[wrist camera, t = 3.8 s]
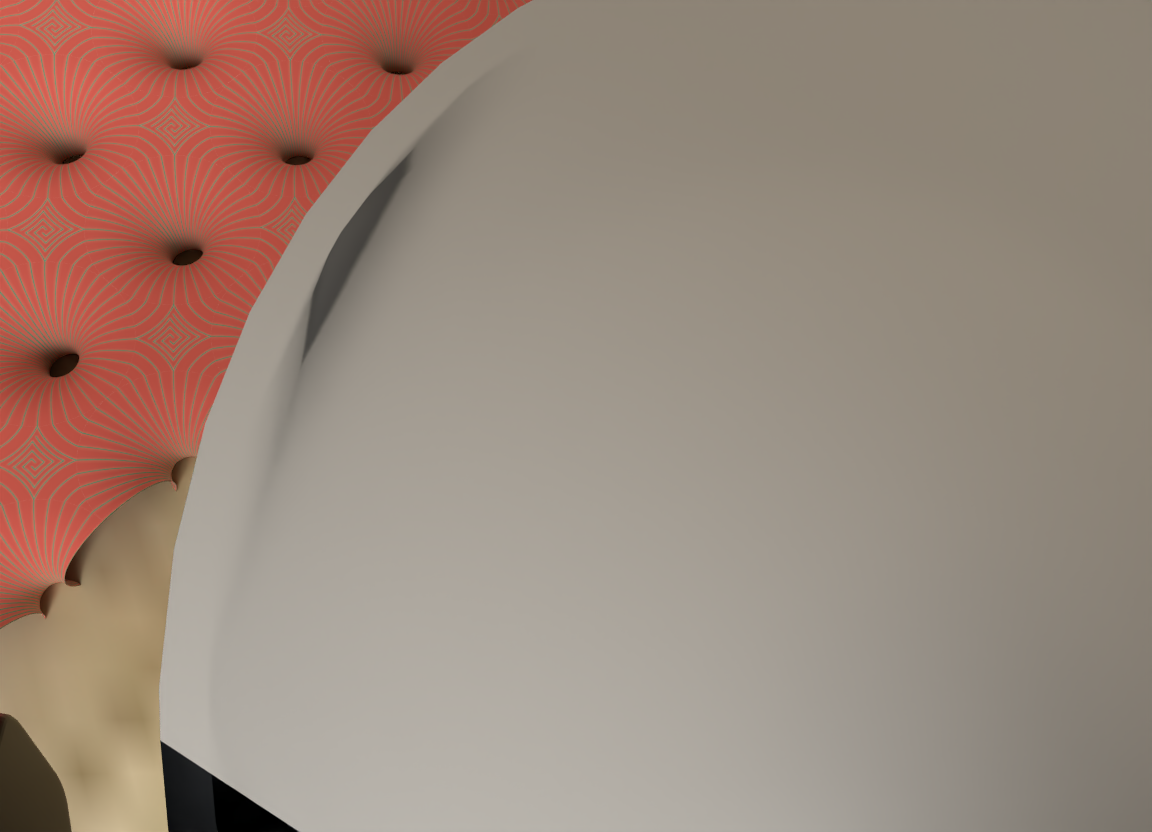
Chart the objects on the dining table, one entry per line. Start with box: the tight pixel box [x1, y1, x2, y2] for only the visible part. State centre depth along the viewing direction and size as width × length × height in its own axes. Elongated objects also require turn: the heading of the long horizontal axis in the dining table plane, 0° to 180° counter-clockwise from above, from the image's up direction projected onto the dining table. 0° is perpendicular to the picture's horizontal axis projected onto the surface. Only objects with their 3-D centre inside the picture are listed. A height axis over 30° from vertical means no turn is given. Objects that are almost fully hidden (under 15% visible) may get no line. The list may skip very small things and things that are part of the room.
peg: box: [159, 0, 1152, 832], centre depth 9 cm, size 5×5×13 cm
